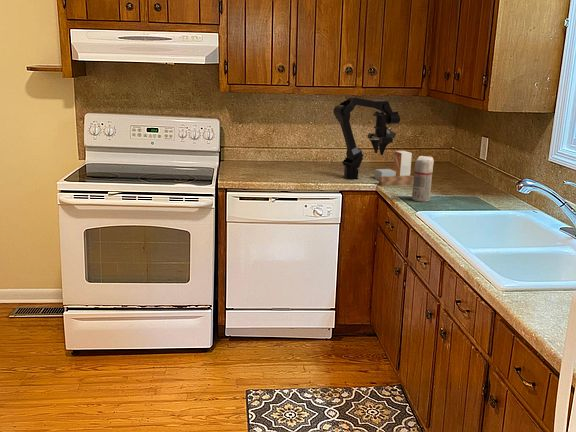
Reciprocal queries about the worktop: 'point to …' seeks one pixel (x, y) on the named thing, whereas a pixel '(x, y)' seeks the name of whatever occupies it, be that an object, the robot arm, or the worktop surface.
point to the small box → (402, 163)
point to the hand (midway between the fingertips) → (378, 154)
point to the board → (396, 180)
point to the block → (384, 173)
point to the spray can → (422, 178)
